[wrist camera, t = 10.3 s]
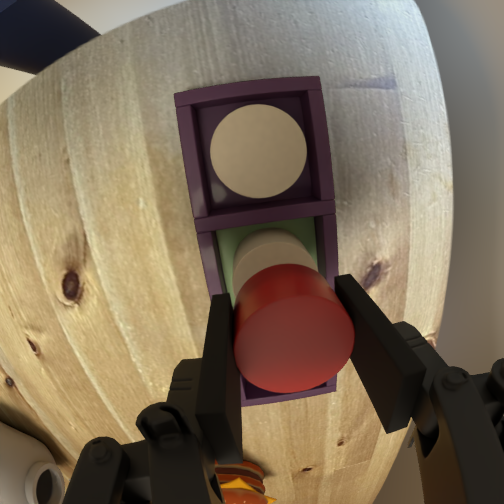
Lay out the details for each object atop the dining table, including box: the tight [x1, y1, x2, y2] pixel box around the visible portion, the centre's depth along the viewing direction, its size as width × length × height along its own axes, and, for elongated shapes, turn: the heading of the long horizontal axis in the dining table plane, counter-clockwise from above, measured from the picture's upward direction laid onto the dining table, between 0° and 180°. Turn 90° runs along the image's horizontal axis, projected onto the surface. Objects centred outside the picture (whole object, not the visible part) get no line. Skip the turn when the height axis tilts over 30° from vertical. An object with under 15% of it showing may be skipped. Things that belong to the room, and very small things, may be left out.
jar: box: [0, 422, 70, 504], centre depth 20 cm, size 19×15×25 cm
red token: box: [233, 263, 355, 393], centre depth 12 cm, size 5×5×3 cm
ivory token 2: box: [232, 227, 318, 298], centre depth 17 cm, size 5×5×3 cm
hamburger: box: [215, 459, 276, 504], centre depth 25 cm, size 9×10×7 cm
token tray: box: [174, 76, 339, 407], centre depth 18 cm, size 21×8×3 cm, turn 8°
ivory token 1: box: [210, 104, 307, 198], centre depth 15 cm, size 5×5×3 cm
